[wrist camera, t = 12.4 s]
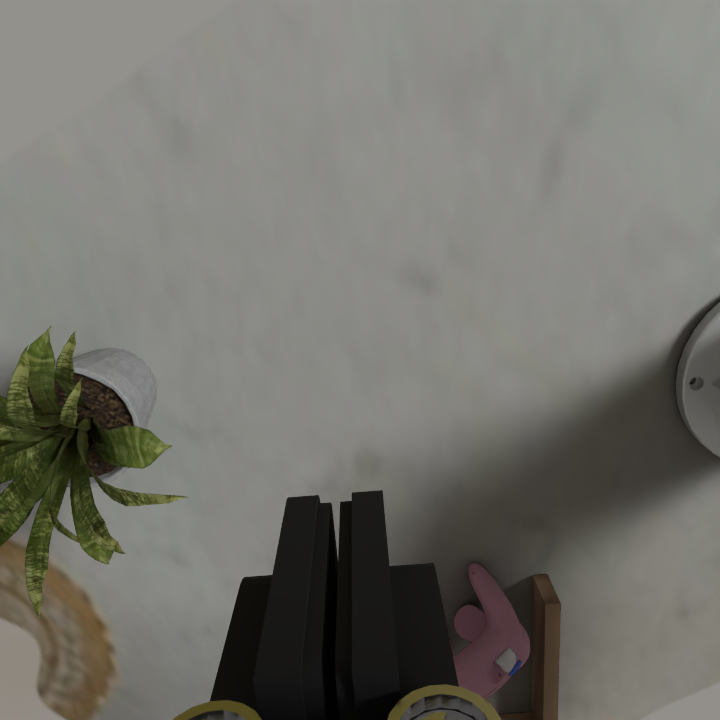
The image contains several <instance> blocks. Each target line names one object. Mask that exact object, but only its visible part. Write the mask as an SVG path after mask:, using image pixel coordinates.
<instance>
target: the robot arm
mask: <svg viewBox="0 0 720 720" xmlns="http://www.w3.org/2000/svg"><path fill="white" fill-rule="evenodd" d="M676 396H677V404H678V407H679V410H680V414H681V417H682V419H683V421H684V423H685V424H686V426H687V428H688V430H689V431H690V432H691V434H692V435H693V436H694V437H695V438H696V439H697V440H698V441H699V442H700V443H701V444H702V445H703V446H705V447H706V448H707V449H708V450H710V451H711V452H712V453H713V454H715V455H717V456H718V457H720V302H719V303H718V304H717V305H716V306H715V307H714V308H712V309H711V310H710V311H709V312H708V313H707V314H706V315H705V317H704V318H703V319H702V320H701V322H700V323H699V324H698V326H697V327H696V328H695V329H694V331H693V333H692V335H691V336H690V338H689V340H688V342H687V344H686V346H685V347H684V350H683V353H682V356H681V359H680V362H679V365H678V371H677V378H676ZM173 720H501V718H500V716H499V715H498V713H497V712H496V710H495V709H494V707H493V706H492V705H490V704H489V703H488V702H487V701H486V700H485V699H483V698H482V697H481V696H480V695H478V694H476V693H474V692H472V691H469V690H467V689H465V688H462V687H459V684H458V679H457V674H456V669H455V664H454V659H453V654H452V649H451V644H450V639H449V634H448V629H447V625H446V620H445V615H444V610H443V605H442V600H441V595H440V590H439V585H438V580H437V575H436V570H435V566H434V564H433V563H428V564H415V565H401V566H389V558H388V547H387V536H386V525H385V514H384V502H383V492H382V490H381V491H367V492H354V493H352V501H345V502H340V527H339V557H338V558H337V549H336V540H335V530H334V521H333V512H332V505H331V503H320V498H319V495H315V496H302V497H289V498H287V501H286V506H285V512H284V517H283V522H282V528H281V533H280V538H279V543H278V549H277V554H276V559H275V565H274V570H273V575H267V576H254V577H244V578H243V579H242V582H241V584H240V588H239V591H238V595H237V599H236V603H235V607H234V611H233V614H232V618H231V622H230V626H229V630H228V634H227V637H226V641H225V645H224V649H223V653H222V657H221V661H220V664H219V668H218V672H217V676H216V680H215V684H214V687H213V691H212V695H211V699H210V702H207V703H203V704H200V705H197V706H194V707H192V708H190V709H188V710H187V711H185V712H183V713H182V714H180V715H178V716H177V717H175V718H174V719H173Z"/></svg>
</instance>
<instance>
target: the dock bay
mask: <svg viewBox="0 0 720 720" xmlns="http://www.w3.org/2000/svg"><path fill="white" fill-rule="evenodd" d="M560 612H561V603H560V601H559V599H558V597H557V594H556V592H555V590H554V588H553V586H552V584H551V582H550V579H549V577H548V575H547V574H542V575H533V597H532V694H531V712H528V713H514V714H500V715H499V716H500V718H501V720H558V684H559V648H560Z"/></svg>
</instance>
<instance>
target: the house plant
mask: <svg viewBox="0 0 720 720" xmlns="http://www.w3.org/2000/svg"><path fill="white" fill-rule="evenodd" d="M50 328H51V327H50ZM50 328H49V329H48V330H47V331H46V332H45V333H44V334H42V335H41V336H40V337H39V338H38V339H37V340H35V341H34V342H33V343H32V344H31V345H30V347H29V349H28V351H27V347H28V346H27V347H26V348H25V350H24V351H23V353H22V355H21V357H20V360H19V362H18V365H17V367H16V369H15V371H14V373H13V376H12V380H11V383H10V387H9V390H8V394H7V399H6V398H4V397H2V396H0V484H1V483H4V482H7V481H10V480H12V479H14V480H13V482H12V483H11V484H10V485H9V486H8V487H7V488H6V489H5V490H4V491H3V492H2V493H1V494H0V546H1V545H2V544H4V543H5V542H6V541H7V540H8V539H9V538H10V537H11V536H12V535H13V534H14V533H15V532H16V531H17V530H18V529H19V527H20V526H21V525H22V524H23V523H24V522H25V520H26V519H27V517H28V516H29V514H30V513H31V511H32V509H33V507H34V505H35V503H37V502H38V501H39V500H40V499H41V498H42V497H43V498H42V500H41V503H40V505H39V507H38V510H37V513H36V516H35V520H34V523H33V526H32V530H31V533H30V537H29V540H28V544H27V548H26V561H25V567H26V584H27V589H28V593H29V597H30V600H31V601H32V603H33V606H34V608H35V611H36V613H37V615H38V616H39V615H40V610H41V606H42V602H43V599H42V584H43V581H44V579H45V575H46V572H47V569H48V555H49V544H50V539H51V533H52V530H53V527H54V526H55V528H56V529H57V530H58V531H59V532H61V533H62V534H64V535H66V536H67V537H69V538H70V539H72V540H74V541H76V542H79V543H80V546H81V547H82V549H83V550H84V551H85V552H86V553H87V554H88V555H89V556H91V557H92V558H94V559H95V560H97V561H99V562H102V563H104V564H109V561H110V559H111V556H112V554H113V551H115V552H118V553H122V554H126V553H124V552H123V551H122V549H121V547H120V546H119V544H118V542H117V541H116V540H114V539H113V538H112V537H111V536H110V534H109V532H108V529H107V527H106V524H105V521H104V520H103V518H102V517H101V515H100V514H99V512H98V510H97V508H96V506H95V504H94V499H93V495H92V491H91V487H97V486H100V487H101V489H102V490H103V491H104V492H105V493H106V494H107V495H108V496H109V497H110V498H111V499H113V500H115V501H117V502H119V503H121V504H123V505H125V506H141V505H149V504H164V503H170V502H173V501H175V500H178V499H181V498H184V496H175V495H159V494H145V493H137V492H131V491H126V490H122V489H118V488H115V487H113V486H110V485H108V484H106V483H109V482H111V481H113V480H114V479H116V478H117V477H119V476H120V475H122V474H123V473H124V472H125V471H126V470H127V468H130V467H132V468H145V467H147V466H149V465H151V464H152V463H153V462H154V461H155V460H156V459H157V458H158V457H159V456H160V455H161V454H162V453H163V452H164V451H165V450H166V449H168V448H169V447H171V445H166V444H164V443H163V442H162V441H161V440H160V439H159V438H157V437H156V436H155V435H154V434H153V433H152V432H151V431H149V430H146V426H147V423H148V420H149V417H150V414H151V411H152V408H153V406H154V403H155V400H156V390H157V389H156V384H155V379H154V377H153V375H152V373H151V371H150V369H149V368H148V367H147V366H146V365H145V363H144V362H143V361H142V360H140V359H139V358H138V357H136V356H135V355H133V354H131V353H129V352H126V351H124V350H120V349H114V348H107V349H99V350H97V351H94V352H91V353H88V354H85V355H82V356H79V357H76V358H73V359H72V356H73V353H74V349H75V345H76V343H75V332H76V331H77V330H76V331H75V332H74V333H73V334H72V335H71V337H70V339H69V340H68V342H67V343H66V345H65V346H64V348H63V350H62V352H61V354H60V356H59V357H58V360H57V363H56V365H55V359H54V354H53V350H52V347H51V344H50V337H49V331H50ZM66 487H70V498H71V506H72V514H73V520H74V525H75V530H76V534H77V536H75V535H74V534H73V533H71V532H70V531H69V530H67V529H66V528H65V527H64V526H63V525H62V524H61V523H60V522H59V521H58V519H57V516H58V513H59V510H60V506H61V503H62V500H63V497H64V493H65V490H66ZM185 498H188V497H185ZM39 618H40V616H39ZM40 619H41V618H40Z"/></svg>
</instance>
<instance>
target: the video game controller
mask: <svg viewBox="0 0 720 720" xmlns="http://www.w3.org/2000/svg"><path fill="white" fill-rule="evenodd" d="M469 577H470V581H471V584H472V587H473V589H474V591H475V592H476V594H477V596H478V598H479V600H480V602H481V604H482V606H483V609H484V611H482V610H481V609H479V608H477V607H475V606H473V605H465V606H463V607H462V608H460V609H459V610H458V612H457V613H456V615H455V618H454V627H455V630H456V632H457V633H458V635H459V636H460V637H462V638H463V639H465V640H467V641H468V642H470V643H471V644H470V645H469V646H467V647H466V648H464V649H463V650H461V651H460V652H458V653H457V654H455V655H454V656H453V659H454V664H455V669H456V674H457V679H458V684H459V687H462V688H465V689H467V690H469V691H472V692H474V693H476V694H478V695H480V696H481V697H482V698H483V699H487V698H488V697H490V696H491V695H493V694H494V693H495V692H496V691H497V690H498V689H499V688H501V687H502V686H503V685H504V684H505V683H506V682H507V681H508V679H509V678H510V677H511V676H512V675H513V674H514V673H515V672H516V671H517V670H518V669H520V668H521V667H522V666H523V665H524V663H525V662H526V660H527V659H528V656H529V653H530V640H529V637H528V634H527V632H526V630H525V629H524V627H523V626H522V625H521V624H520V621H519V619H518V617H517V615H516V613H515V611H514V609H513V607H512V605H511V603H510V602H509V600H508V599H507V597H506V596H505V594H504V593H503V591H502V590H501V588H500V587H499V585H498V584H497V583H496V581H495V580H494V579H493V577H492V576H491V575H490V574H489V573H488V572H487V571H486V570H485V569H484V568H483V567H482V566H481V565H479V564H477V563H472V564H471V565H470V566H469ZM449 639H450V638H449ZM450 644H451V649H452V654H453V646H452V642H451V639H450Z"/></svg>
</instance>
